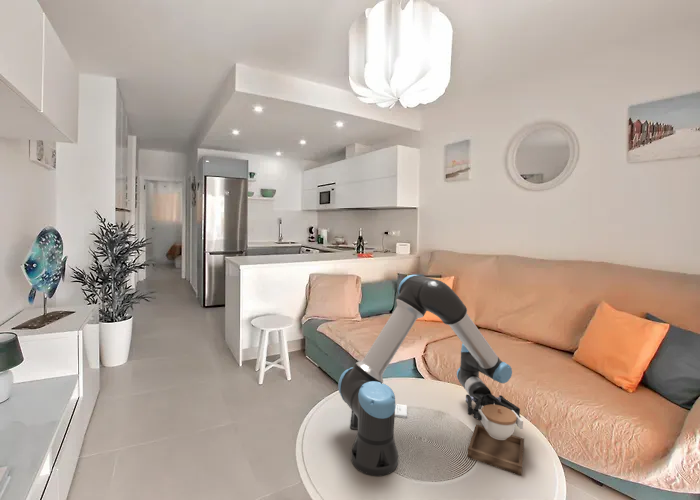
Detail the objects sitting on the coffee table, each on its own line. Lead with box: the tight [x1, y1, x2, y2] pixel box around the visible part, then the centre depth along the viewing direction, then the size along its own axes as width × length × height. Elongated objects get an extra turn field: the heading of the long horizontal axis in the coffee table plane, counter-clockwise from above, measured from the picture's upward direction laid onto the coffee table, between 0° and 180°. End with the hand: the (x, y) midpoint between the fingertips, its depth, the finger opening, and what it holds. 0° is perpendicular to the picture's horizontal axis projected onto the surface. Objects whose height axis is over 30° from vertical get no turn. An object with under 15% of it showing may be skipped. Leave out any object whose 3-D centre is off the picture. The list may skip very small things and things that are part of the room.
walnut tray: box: [467, 423, 525, 477], centre depth 116 cm, size 16×16×3 cm
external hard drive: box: [395, 403, 408, 419], centre depth 139 cm, size 2×8×12 cm
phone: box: [349, 410, 358, 431], centre depth 133 cm, size 8×1×15 cm
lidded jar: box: [481, 404, 517, 440], centre depth 115 cm, size 11×11×9 cm
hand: (504, 424), depth 111 cm, fingers closed on lidded jar, 11 cm apart
